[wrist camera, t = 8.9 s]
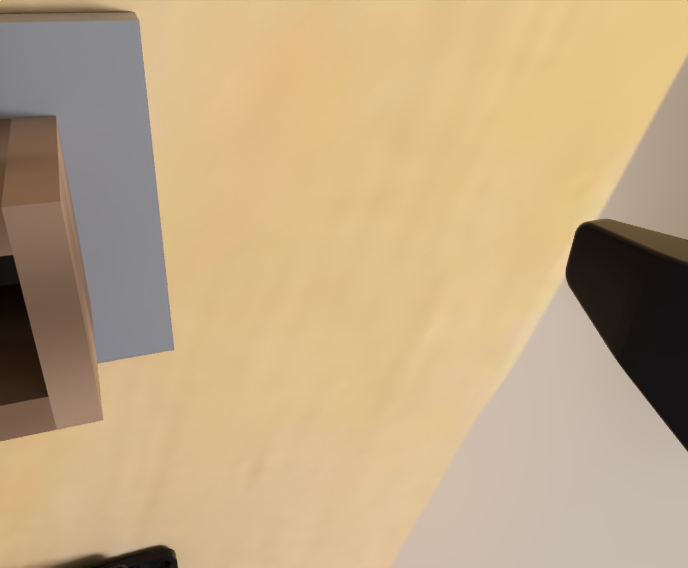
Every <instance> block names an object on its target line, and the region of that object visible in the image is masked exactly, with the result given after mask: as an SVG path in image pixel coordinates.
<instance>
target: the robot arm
mask: <svg viewBox="0 0 688 568" xmlns="http://www.w3.org/2000/svg"><path fill="white" fill-rule="evenodd" d="M566 279H567V283H568V285H569V287H570V289H571V290H572V292H573V293H574V295H575V296H576V298H577V300H578V301H579V303H580V304H581V306H582V307H583V309H584V311H585V312H586V314H587V315H588V317H589V318H590V320H591V322H592V323H593V325H594V326H595V328H596V329H597V331H598V332H599V334H600V336H601V337H602V339H603V340H604V342H605V343H606V345H607V347H608V348H609V350H610V351H611V353H612V354H613V356H614V357H615V359H616V360H617V362H618V363H619V364H620V366H621V367H622V368H623V370H624V371H625V372H626V374H627V375H628V376H629V378H630V379H631V380H632V382H633V383H634V384H635V385H636V387H637V388H638V389H639V390H640V391H641V393H642V394H643V395H644V397H645V398H646V399H647V401H648V402H649V403H650V404H651V406H652V407H653V408H654V409H655V411H656V412H657V413H658V415H659V416H660V417H661V418H662V420H663V421H664V422H665V424H666V425H667V426H668V427H669V429H670V430H671V431H672V432H673V434H674V435H675V436H676V438H677V439H678V440H679V441H680V443H681V444H682V445H683V446H684V448H685V449H686V450H687V451H688V240H686V239H682V238H678V237H674V236H671V235H667V234H663V233H660V232H655V231H652V230H648V229H645V228H641V227H637V226H633V225H630V224H626V223H622V222H618V221H614V220H611V219H599V220H593V221H588V222H584V223H582V224H581V225H580V226H579V227H578V228H577V230H576V232H575V235H574V239H573V243H572V247H571V251H570V254H569V258H568V262H567V266H566ZM95 568H178V565H177V558H176V553H175V551H174V550H172V549H168V548H166V549H161V550H157V551H153V552H150V553H146V554H143V555H139V556H135V557H132V558H128V559H124V560H121V561H117V562H113V563H110V564H106V565H102V566H99V567H95Z"/></svg>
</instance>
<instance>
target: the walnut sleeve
mask: <svg viewBox="0 0 688 568" xmlns="http://www.w3.org/2000/svg"><path fill="white" fill-rule="evenodd" d="M8 255H13V256H14V260H15V264H16V268H17V272H18V276H19V280H20V283H19V284H11V285H4V286H0V441H4V440H9V439H13V438H18V437H23V436H28V435H33V434H38V433H43V432H47V431H52V430H57V429H62V428H67V427H72V426H76V425H81V424H86V423H91V422H96V421H101V420H103V414H102V405H101V395H100V385H99V376H98V366H97V357H96V347H95V338H94V328H93V319H92V309H91V301H90V296H89V290H88V285H87V280H86V274H85V269H84V264H83V258H82V253H81V247H80V242H79V237H78V231H77V226H76V220H75V215H74V210H73V204H72V199H71V193H70V188H69V183H68V177H67V172H66V166H65V161H64V156H63V150H62V145H61V139H60V134H59V129H58V123H57V118H56V116H42V117H26V118H9V119H0V256H8Z"/></svg>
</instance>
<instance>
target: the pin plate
mask: <svg viewBox="0 0 688 568" xmlns="http://www.w3.org/2000/svg"><path fill="white" fill-rule="evenodd" d="M42 116H56V118H57V123H58V129H59V134H60V139H61V145H62V150H63V156H64V161H65V166H66V172H67V177H68V183H69V188H70V193H71V199H72V204H73V210H74V215H75V220H76V226H77V231H78V237H79V242H80V247H81V253H82V258H83V264H84V269H85V274H86V280H87V285H88V290H89V296H90V301H91V309H92V319H93V328H94V338H95V347H96V357H97V363H103V362H108V361H114V360H119V359H125V358H131V357H136V356H142V355H147V354H153V353H159V352H164V351H170V350H174V344H173V335H172V325H171V316H170V306H169V297H168V288H167V278H166V269H165V260H164V250H163V241H162V231H161V222H160V213H159V203H158V194H157V185H156V175H155V166H154V156H153V147H152V138H151V128H150V119H149V110H148V100H147V91H146V82H145V72H144V63H143V53H142V44H141V35H140V25H139V20H138V18H137V16H136V14H135V12H111V13H32V14H0V119H9V118H26V117H42ZM19 283H20V280H19V276H18V272H17V268H16V264H15V260H14V256H13V255H8V256H0V286H4V285H11V284H19Z"/></svg>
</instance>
